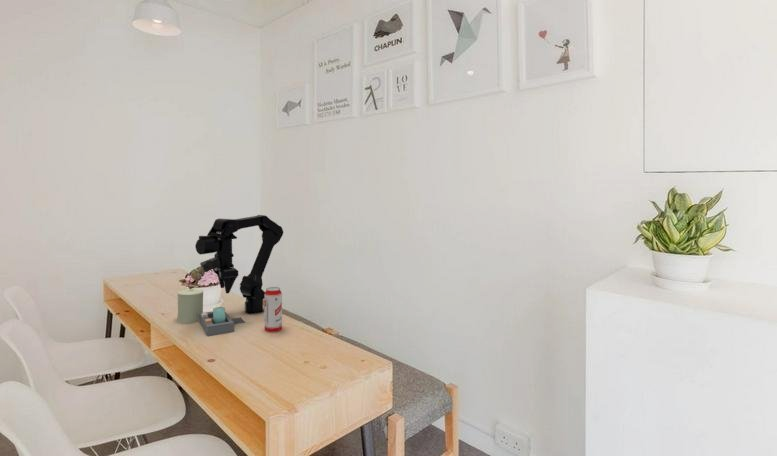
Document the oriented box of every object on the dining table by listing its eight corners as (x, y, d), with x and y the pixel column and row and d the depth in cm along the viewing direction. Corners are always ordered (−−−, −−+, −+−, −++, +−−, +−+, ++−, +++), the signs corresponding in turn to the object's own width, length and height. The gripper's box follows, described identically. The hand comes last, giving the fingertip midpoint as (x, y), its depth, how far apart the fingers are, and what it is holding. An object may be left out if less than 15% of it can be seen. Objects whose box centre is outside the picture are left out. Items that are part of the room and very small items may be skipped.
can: (202, 315, 165) (203, 287, 164) (203, 322, 157) (204, 292, 156) (177, 318, 161) (177, 288, 160) (177, 325, 153) (177, 294, 152)
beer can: (284, 328, 153) (284, 287, 152) (278, 334, 147) (278, 291, 146) (268, 327, 154) (268, 286, 152) (261, 333, 148) (261, 290, 146)
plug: (224, 327, 151) (223, 306, 150) (226, 330, 148) (225, 309, 147) (213, 329, 149) (212, 308, 148) (215, 332, 146) (214, 311, 145)
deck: (240, 318, 163) (240, 317, 163) (245, 323, 157) (245, 322, 157) (226, 320, 160) (226, 319, 160) (230, 326, 154) (230, 324, 154)
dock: (223, 319, 161) (223, 307, 161) (234, 333, 147) (234, 319, 147) (199, 323, 156) (199, 310, 156) (207, 337, 142) (207, 323, 142)
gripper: (197, 249, 159) (198, 287, 161) (206, 256, 144) (207, 299, 146) (227, 247, 165) (227, 284, 167) (238, 254, 150) (239, 295, 152)
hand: (224, 290), depth 158 cm, fingers open, 9 cm apart
